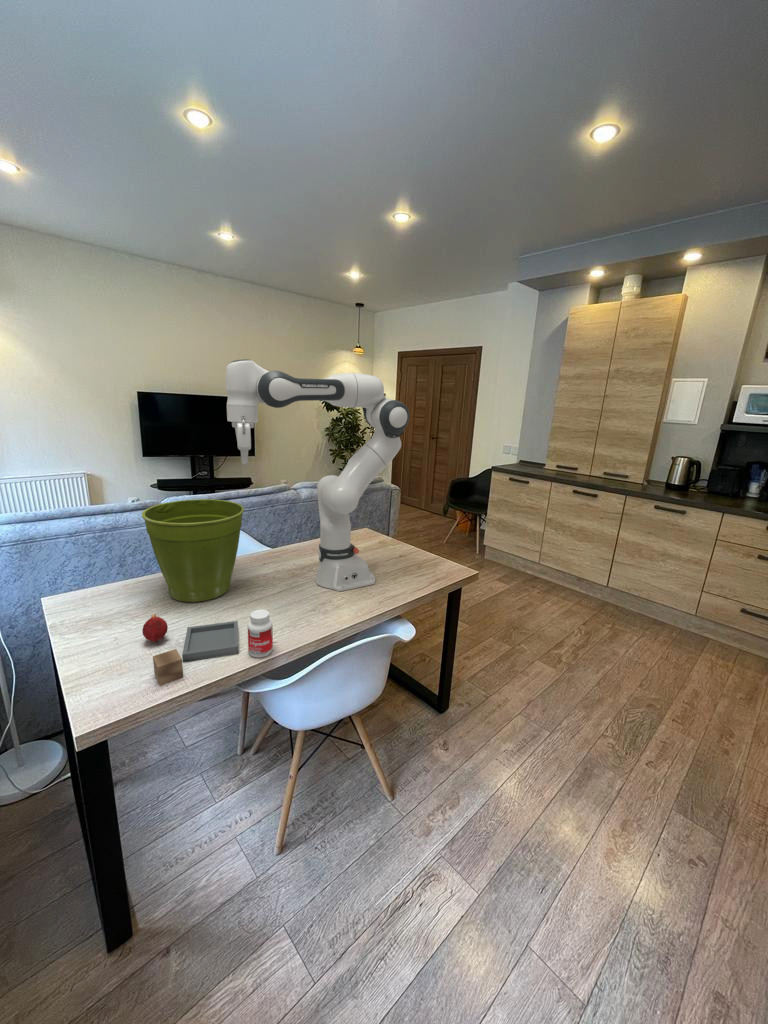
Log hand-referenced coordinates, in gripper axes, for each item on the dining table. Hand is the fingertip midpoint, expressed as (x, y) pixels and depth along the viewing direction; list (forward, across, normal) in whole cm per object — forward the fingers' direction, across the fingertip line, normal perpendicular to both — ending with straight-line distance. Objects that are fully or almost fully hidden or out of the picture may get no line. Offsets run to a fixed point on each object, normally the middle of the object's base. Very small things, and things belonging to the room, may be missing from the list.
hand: (244, 461), depth 123 cm
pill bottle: (+46, -34, -2) cm, 57 cm away
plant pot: (+46, +6, +16) cm, 49 cm away
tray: (+45, -28, +10) cm, 54 cm away
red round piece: (+46, -23, +24) cm, 56 cm away
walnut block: (+45, -39, +19) cm, 63 cm away
